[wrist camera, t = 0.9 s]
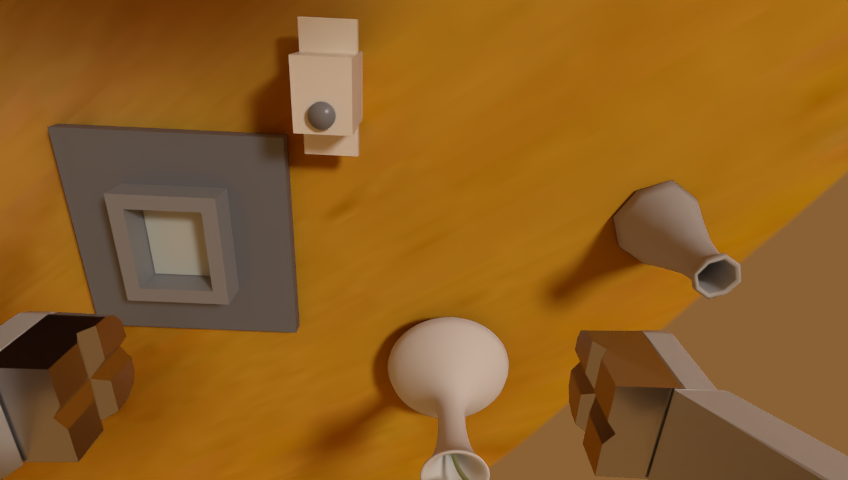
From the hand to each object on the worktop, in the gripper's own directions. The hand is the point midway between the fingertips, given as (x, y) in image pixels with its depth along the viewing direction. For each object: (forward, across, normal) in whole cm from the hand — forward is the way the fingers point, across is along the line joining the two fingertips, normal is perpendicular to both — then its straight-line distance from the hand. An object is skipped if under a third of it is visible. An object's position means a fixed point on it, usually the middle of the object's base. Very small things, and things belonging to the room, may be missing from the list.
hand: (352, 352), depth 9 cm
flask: (+33, -21, +10) cm, 40 cm away
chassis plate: (+32, +19, +12) cm, 39 cm away
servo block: (+32, +6, -1) cm, 33 cm away
